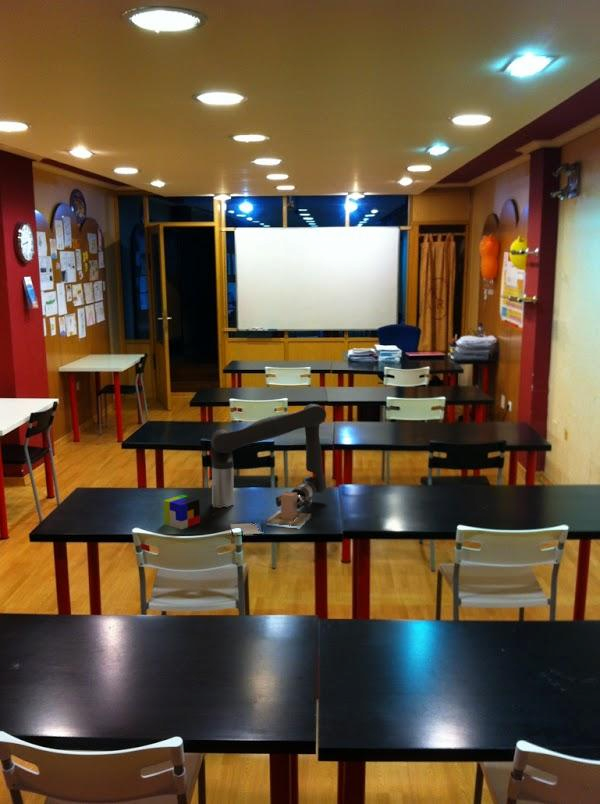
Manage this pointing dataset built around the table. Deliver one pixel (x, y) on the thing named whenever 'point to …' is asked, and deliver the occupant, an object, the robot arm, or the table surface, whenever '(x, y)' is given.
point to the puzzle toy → (181, 511)
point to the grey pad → (247, 528)
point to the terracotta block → (289, 506)
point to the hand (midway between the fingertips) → (287, 505)
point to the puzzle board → (277, 520)
